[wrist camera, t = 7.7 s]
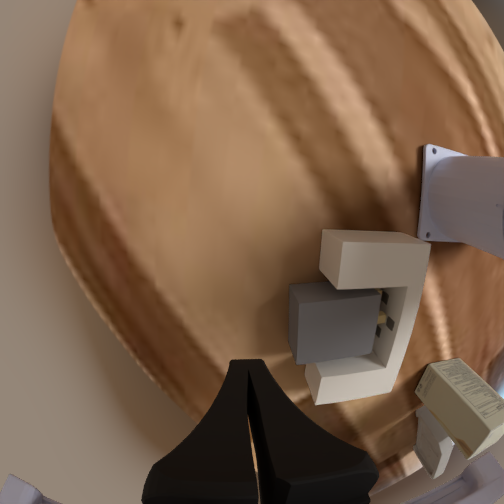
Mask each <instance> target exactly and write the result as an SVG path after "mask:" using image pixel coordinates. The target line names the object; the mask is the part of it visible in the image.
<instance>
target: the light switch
mask: <svg viewBox="0 0 504 504" xmlns="http://www.w3.org/2000/svg"><path fill="white" fill-rule="evenodd" d="M416 417H419V418H418V430H417V440H416V444H415V445H413V450H414V452H415V453H416V455H417V457H418V459H419V460H420V462H421V464H422V465H423V467H424V469H425V470H426V472H427V474H428V476H429V477H431V478H432V479H435V478H436V477H438V476H439V475H441V474H443V472H444V469H445V467H446V465H447V463H448V460H449V457H450V454H451V451H452V449H453V445H452V441H451V438H450V437H449V435H448V434H447V433H446V431H445V430H444V429H443V428H442V426H441V425H440V424H439V422H438V421H437V420H436V418H435V417H434V416H433V415H432V413H431V412H430V411H429V410H428V408H427V407H426V406H425V405H424V406H422V407H421V408H419V409H417V410H416Z"/></svg>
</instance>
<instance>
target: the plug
mask: <svg viewBox="0 0 504 504" xmlns="http://www.w3.org/2000/svg"><path fill="white" fill-rule="evenodd" d="M381 296H382V290H381V289H379V288H365V289H338V290H337V289H336V288H335V287H334V285H333V284H332V283H331V282H330V281H327V282H315V283H303V284H290V285H289V331H288V342H289V345H290V348H291V351H292V354H293V357H294V360H295V363H296V365H301V364H309V363H317V362H324V361H330V360H337V359H343V358H349V357H354V356H360V355H365V354H370V353H372V348H373V343H374V338H375V332H376V327H377V324H381V323H385V320H386V314H385V313H384V312H383V311H379V309H380V302H381Z"/></svg>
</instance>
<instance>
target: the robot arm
mask: <svg viewBox="0 0 504 504" xmlns="http://www.w3.org/2000/svg"><path fill="white" fill-rule="evenodd" d="M432 149H433V150H434V153H433V152H432ZM427 232H428V235H427V237H426V234H427ZM417 236H418V238H419V239H420V240H422V241H444V242H463V243H465V244H468V245H470V246H473V247H475V248H478V249H480V250H483V251H485V252H488V253H490V254H493V255H495V256H497V257H500V258H502V259H504V157H486V156H468V155H465V154H462V153H458V152H455V151H452V150H449V149H445V148H442V147H439V146H435V145H431V144H426V145H424V148H423V176H422V193H421V205H420V215H419V224H418V232H417ZM248 417H249V423H250V428H251V433H252V438H253V443H254V448H255V453H256V459H257V468H258V479H259V490H260V502H261V504H369V503H370V498H369V495H368V492H369V491H370V490H371V489H372V487H373V486H374V485H375V483H376V482H377V480H378V478H379V472H378V470H377V468H376V466H375V464H374V462H373V461H372V459H371V458H370V456H369V455H368V453H367V452H366V451H364V450H361V449H359V448H357V447H354V446H352V445H350V444H348V443H346V442H344V441H342V440H340V439H338V438H336V437H335V436H333V435H332V434H330V433H329V432H327V431H326V430H324V429H323V428H321V427H320V426H318V425H317V424H316V423H315V422H313V421H312V420H311V419H310V418H308V417H307V416H306V415H305V414H304V413H303V412H302V411H301V410H300V409H299V408H298V407H297V406H296V405H295V404H294V403H293V402H292V401H291V400H290V399H289V398H288V396H287V395H286V394H285V393H284V392H283V390H282V389H281V388H280V386H279V385H278V384H277V382H276V381H275V379H274V378H273V376H272V375H271V373H270V372H269V370H268V368H267V366H266V364H265V362H264V361H263V360H262V359H240V360H231V361H230V363H229V368H228V372H227V375H226V378H225V380H224V382H223V385H222V387H221V389H220V391H219V393H218V395H217V397H216V399H215V400H214V402H213V404H212V406H211V407H210V409H209V410H208V412H207V413H206V415H205V416H204V417H203V419H202V420H201V421H200V423H199V424H198V425H197V426H196V427H195V429H194V430H193V431H192V432H191V433H190V434H189V435H188V436H187V437H186V438H185V439H184V440H183V442H181V443H180V444H179V445H178V446H177V447H176V448H175V449H173V450H172V451H171V452H170V453H169V454H167V455H166V456H165V457H163V458H162V459H160V460H159V461H158V462H156V463H155V464H154V465H153V466H152V469H151V470H150V472H149V474H148V477H147V479H146V482H145V485H144V489H143V494H142V499H141V501H142V503H143V504H258V487H257V479H256V474H255V468H254V462H253V456H252V448H251V441H250V433H249V425H248ZM503 495H504V470H503V468H502V467H501V466H500V464H499V463H498V462H497V460H496V459H495V458H494V456H493V455H492V454H491V452H487V453H486V454H484V455H482V456H481V457H480V458H478V459H476V460H475V461H473V462H472V463H471V464H469V465H468V466H467V467H466V468H465V469H464V471H463V472H462V474H460V475H459V476H457V477H455V478H453V479H452V480H450V481H448V482H446V483H444V484H442V485H440V486H438V487H436V488H435V489H432V490H430V491H428V492H426V493H424V494H422V495H420V496H417V497H415V498H413V499H411V500H408V501H406V502H403V503H401V504H493V503H495V502H496V501H497V500H498V499H499V498H500V497H501V496H503ZM0 504H61V503H59V502H57V501H54V500H52V499H49V498H47V497H45V496H43V494H42V493H41V492H40V491H39V490H38V489H37V488H35V487H34V486H32V485H31V484H29V483H27V482H25V481H24V480H22V479H20V478H18V477H16V476H14V475H12V474H9V476H8V478H7V480H6V482H5V484H4V486H3V488H2V490H1V492H0Z"/></svg>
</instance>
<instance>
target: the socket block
mask: <svg viewBox="0 0 504 504" xmlns="http://www.w3.org/2000/svg"><path fill="white" fill-rule="evenodd" d="M430 249H431V244H429V243H427V242H425V241H422V240H420V239H417V238H415V237H412V236H410V235H407V234H405V233H402V232H385V231H362V230H335V229H322V240H321V251H320V262H319V270H320V271H321V272H322V273H323V274H324V275H325V276H326V278H327V279H328V280H329V281H330V282H331V283H332V284H333V285H334V287H335V288H336V289H337V290H338V289H365V288H379V289H381V290H382V296H381V302H380V309H379V311H383V312H384V313H385V314H386V320H385V323H381V324H377V327H376V332H375V338H374V343H373V348H372V353H370V354H365V355H360V356H354V357H349V358H343V359H337V360H330V361H324V362H317V363H309V364H306V368H305V374H304V375H305V378H306V381H307V383H308V386H309V389H310V392H311V394H312V397H313V400H314V403H315V405H320V404H328V403H335V402H341V401H347V400H353V399H359V398H364V397H370V396H374V395H379V394H384V393H388V392H391V390H392V388H393V385H394V383H395V380H396V377H397V375H398V372H399V369H400V366H401V364H402V361H403V358H404V355H405V352H406V349H407V346H408V342H409V339H410V336H411V333H412V329H413V326H414V322H415V318H416V315H417V311H418V307H419V303H420V299H421V295H422V290H423V286H424V281H425V276H426V271H427V266H428V261H429V255H430Z"/></svg>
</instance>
